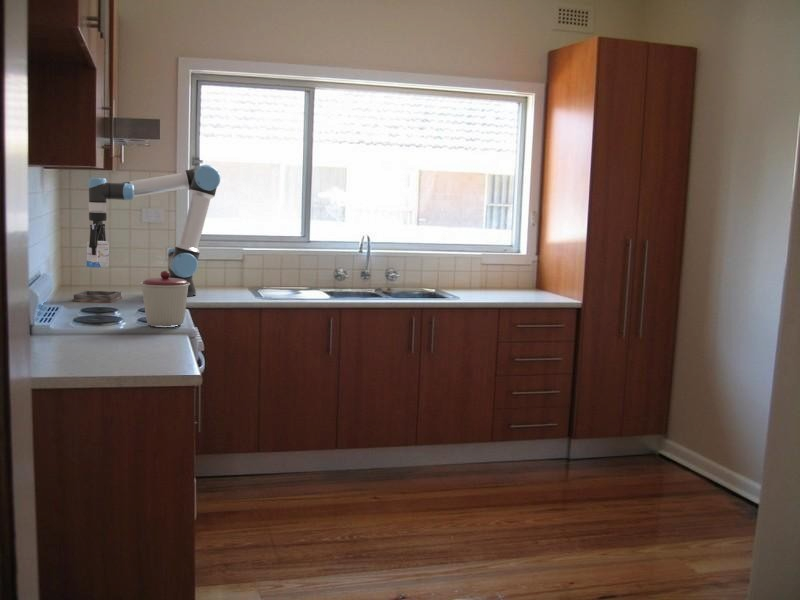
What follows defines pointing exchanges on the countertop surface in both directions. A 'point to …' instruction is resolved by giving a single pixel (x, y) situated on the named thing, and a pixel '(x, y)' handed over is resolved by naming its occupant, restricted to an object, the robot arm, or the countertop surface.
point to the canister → (165, 300)
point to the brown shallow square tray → (97, 296)
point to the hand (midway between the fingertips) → (97, 261)
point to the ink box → (99, 255)
